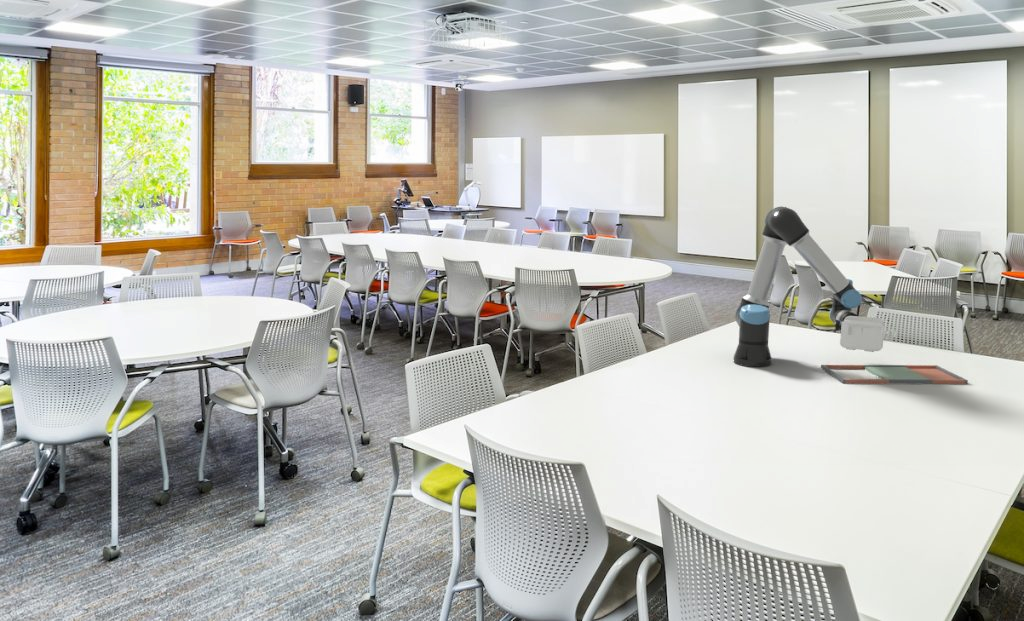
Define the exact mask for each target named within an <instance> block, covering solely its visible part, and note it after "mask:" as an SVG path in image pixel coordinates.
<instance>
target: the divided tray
mask: <svg viewBox="0 0 1024 621" xmlns="http://www.w3.org/2000/svg"><path fill="white" fill-rule="evenodd" d="M821 368H822V369H821ZM820 369H821V370H823V371H824V370H825V371H824V372H825V373H827V374H828V373H829V374H828V375H830V376H831V375H832V376H831V377H833V378H834V379H836V380H837V381H838V382H840V383H842V384H879V383H912V384H911V385H913V383H914V385H915V383H932V385H938V384H939V385H941V384H942V385H968V384H969V383H968V381H969V380H968V379H966V378H964V377H962V376H959V375H958V374H956V373H953V372H952V371H949V370H948V369H946V368H943V367H941V366H939V365H937V364H936V365H935V364H934V365H933V364H931V365H930V364H927V365H926V364H923V365H922V364H821V365H820ZM865 369H866V370H865ZM833 370H865V371H867V372H869V373H870V372H871V374H872V375H874V376H875V375H876V377H877V376H878V377H877V378H878V379H877V378H867V379H866V378H844V377H842V376H841V375H840V374H838V373H836V372H835V371H833ZM880 378H881V379H880ZM933 383H935V384H933ZM937 383H938V384H937Z"/></svg>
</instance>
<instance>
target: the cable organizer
mask: <svg viewBox="0 0 1024 621" xmlns="http://www.w3.org/2000/svg"><path fill="white" fill-rule="evenodd" d="M849 327H851V328H852V330H851V335H849V334H848V328H849ZM884 337H885V321H884V319H882V318H880V317H872V316H868V317H867V316H860V315H858V316H847V317H846V318H845V319H844V321H843V322H842V324H841V333H840V339H839V343H840V344H839V345H840V346H841V347H842V348H844V349H845V350H849V351H850V350H852V351H855V350H860V351H864V352H870V353H874V352H879V351H881V350H882V349H883V347H884Z"/></svg>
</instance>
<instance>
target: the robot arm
mask: <svg viewBox="0 0 1024 621" xmlns="http://www.w3.org/2000/svg"><path fill="white" fill-rule="evenodd" d="M761 236H762V238H763V244H762V247H761V250H760V253H759V256H758V259H757V262H756V265H755V269H754V271H753V275H752V277H751V281H750V284H749V288H748V289H747V290H748V291H747V294H746V295H743V296H742V297H741V300H740V303H739V305H738V307H737V309H736V310H735V315H734V317H735V321H736V323H737V325H738V327H739V329H738V330H739V331H738V334H739V335H738V344H737V347H736V350H735V353H734V354H733V360H734V361H733V362H736V363H738V364H737V365H739V364H742V365H741V366H743V365H748V366H747V367H751V366H756V367H757V368H760V367H761V368H762V367H769V366H771V365H772V362H773V359H772V355H771V354H772V353H771V352H770V351H771V350H770V348H769V347H770V346H769V337H770V336H769V334H770V320H771V312H770V309H769V308H770V302H769V301H768V299H769V296H770V292H771V290H772V287H773V283H774V281H775V278H776V274H777V271H778V269H779V265H780V262H781V259H782V256H783V252H784V250H785V247H786V245H788V246H789V247H793V248H794V249H795V250H796V252H797V253H798V254H799V255H800V256H801V257H802V259H803V260H804V261H805V262H806V263H807V265H808V266H809V267H810V268H811V269H812V271H813V272H815V274H816V275H817V276H818V278H819V279H820V280H821V282H823V283H824V284H825V285H826V286H827V288H828V289H829V291H831V293H832V304H831V309H830V310H829V314H828V315H829V319H830V321H832V323H833V324H834V331H837V332H838V331H839V333H840V334H841V324H842V322H843V321H844V319H845V318H846V317H847V316H859V315H858V314H856V313H855V312H853V311H852V310H853V309H856V308H857V307H859V306H861V303H862V301H863V297H862V295H861V293H860V292H859V290H857V289H856V288H855V287H854V285H853V283H854V282H853V280H852V279H849V278H846V276H845V275H844V274H843V273H842V272H841V271H840V269H839V268H838V267H837V266H836V264H835V263H834V262H833V261H832V260H831V258H830V257H829V256H828V255H827V254H826V253H825V251H824V250H823V249H822V248H821V246H820V245H819V244H818V243H817V242H816V241H815V239H813V237H812V236H811V235H810V229H809V228H808V226H807V225H806V224H805V223H804V222H803V221H802V219H801V217H800V215H799V214H798V213H797V212H796V211H795V210H794V209H792V208H789V207H786V206H777V207H774V208H772V209H770V211H769V212H768V213H767V214H766V216H765V220H764V227H763V231H762V233H761ZM851 330H852V328H851V327H849V328H848V334H849V335H851ZM736 363H735V364H736ZM756 367H755V368H756Z"/></svg>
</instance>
